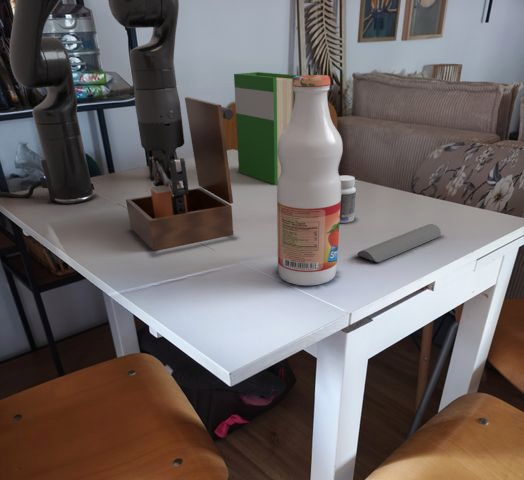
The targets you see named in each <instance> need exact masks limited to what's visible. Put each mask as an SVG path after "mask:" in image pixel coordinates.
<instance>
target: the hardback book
mask: <svg viewBox="0 0 524 480" xmlns="http://www.w3.org/2000/svg"><path fill="white" fill-rule="evenodd" d="M295 76H300V74H287V73H274V72H262V71H261V72H260V71H255V72H242V73H233V83H234V103H235V122H236V124H235V125H236V141H237V161H238V173H241V174H243V175H247V176H249V177H252V178H255V179H257V180H260V181H264V182H266V183H269V184H271V185H277V184H278V179H279V176H280V174H281V166H280V162H279V158H278V152H277V151H278V142H279V138H280V136H281V135H282V133H283V131H284V130H285V129H286V127H287V125H288V123H289V121H290V118H291V115H292V112H293V108H294V103H295V92H294V91H293V78H294V77H295Z"/></svg>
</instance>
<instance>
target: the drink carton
mask: <svg viewBox="0 0 524 480" xmlns="http://www.w3.org/2000/svg"><path fill="white" fill-rule="evenodd" d="M178 188H179V186H178V185H177V189H178ZM149 189H150V193H151V195H152V201H153V208H154V215H155V218H160V217H166V216H171V215H173V209H172V201H171V195H170V192H169V189H168V187H167V186H165V185H163V186H151V187H149ZM151 195H150V196H151ZM184 201H185V209H186V213H188V211H187V202H186V195H185V196H184Z"/></svg>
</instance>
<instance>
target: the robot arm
mask: <svg viewBox="0 0 524 480" xmlns="http://www.w3.org/2000/svg"><path fill="white" fill-rule="evenodd" d="M60 2H61V0H15V4H14V13H13V19H12V25H11V32H10V39H9V63H10V69H11V72H12V74H13V76H14V79H15V80H16V82H17V83H18V84H19V85H20V86H22V87H24V88H25V89H26V88H27V89H44V88H47V94H46V97H45V98H44V99H43V101H41V102H40V103H39V104H37V105H36V106H35V107H33V109H32V111H31V112H32V117H33V121H34V125H35V129H36V133H37V136H38V142H39V145H40V149H41V153H42V157H43V158H42V159H41V160H40V164H41V168H42V171H43V175H42V176H40V178H39V180H38V181H35V182H34V183H32V184H31V185H30V186H29V189H28V191H27V192H26V193H22V194H20V193H19V194H18V193H12V192H7V191H0V197H7V198H13V199H28V198H31V197H32V196H33V194H34V191H35V189H37V188H38V187H39V186H40V187H41V188H42V189H47V191H48V195H49V199H50V203H58V204H78V203H83V202H87V201H89V200H92V199H94V198H95V185H94V183H92V179H91V173H90V170H89V165H88V161H87V156H86V151H85V147H84V142H83V137H82V132H81V127H80V122H79V118H78V99H77V92H76V86H75V80H74V72H73V67H72V64H71V63H72V62H71V59H70V55H69V53H68V50H67V48H66V46H65V45H64V44H63V42H62V41H61V40H60V39H59V38H57V37H55V36H44V35H43V34H44V31H45V27H46V24H47V23H48V20H49V18H50V16H51V15H52V13H53V12H54V10H55V9H56V8H57V6H58V4H59V3H60ZM107 2H108V7H109V10H110V12H111V15H112V16H113V18H114V19H115V20H116V22H117V23H118V24H120V25H121V26H122V27H124V28H126V29H142V28H143V29H145V28H153V29H152V34H151V37H150V40H149V41H148V42H147V43H145V44H142V45H138V46H136V47H134V48H132V49H131V50H130V52H129V65H130V71H131V77H132V83H133V84H132V85H133V88H134V89H133V91H134V106H135V113H136V119H137V127H138V132H139V138H140V146H141V147H142V148H143V149H144V150H146V157H147V164H148V171H149V179H150V181H151V182H153V185H154V186H153V187H156V186H163V185H165V186H167V187H168V189H169V192H170V195H171V201H172V209H173V215H177V214H182V213H186V209H185V201H184V196H185V195H187V194H189V189H190V188H189V183H188V182H189V181H188V176H187V168H186V167H187V166H186V161H185V158H183V157H182V158H179V157H178V155H177V149H178V148H181V147H183V146H184V144H185V134H184V125H183V116H182V108H181V100H180V95H179V92H178V88H177V76H176V69H175V48H176V47H175V46H176V34H177V26H178V20H179V9H180V0H107ZM177 185H178V186H179V188H178V189H177Z"/></svg>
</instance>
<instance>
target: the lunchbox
mask: <svg viewBox="0 0 524 480" xmlns="http://www.w3.org/2000/svg"><path fill="white" fill-rule="evenodd" d="M188 189H189V194H187V195H186V202H187V211H188V213H182V214H177V215H171V216H166V217H160V218H155V215H154V208H153V201H152V195H147V196H139V197H134V198H128V199H127V198H126V199H125V203H126V209H127V214H128V220H129V226H130V229H132V230H133V231H134V232H135V233H136V234H137V236H139V238H140V239H142V241H143V242H144V243H145V244H146V245H147V246H148V247H149V248H150V249H151V250H152V251H153V252H158V251H163V250H168V249H173V248H176V247H182V246H187V245H191V244H197V243H201V242H206V241H212V240H215V239H220V238H225V237H230V236H234V224H233V208H232V207H233V206H232V204H229V203H228V202H226V201H224V200H223V199H221V198H219V197H217V196H216V195H214V194H212V193H210V192H209V191H207V190H205V189H204V188H202V187H194V188H188Z"/></svg>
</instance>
